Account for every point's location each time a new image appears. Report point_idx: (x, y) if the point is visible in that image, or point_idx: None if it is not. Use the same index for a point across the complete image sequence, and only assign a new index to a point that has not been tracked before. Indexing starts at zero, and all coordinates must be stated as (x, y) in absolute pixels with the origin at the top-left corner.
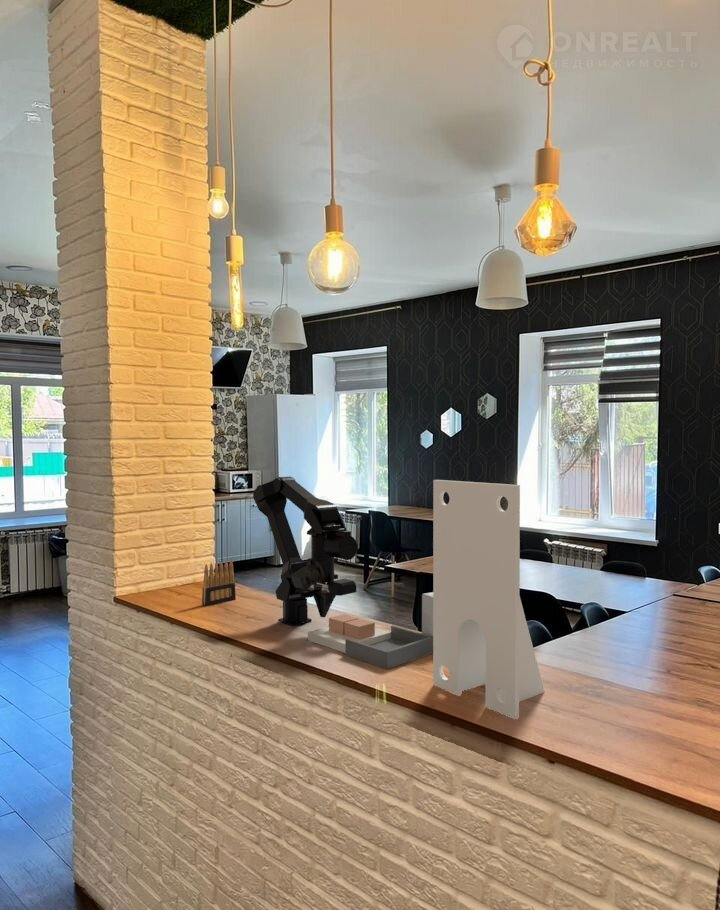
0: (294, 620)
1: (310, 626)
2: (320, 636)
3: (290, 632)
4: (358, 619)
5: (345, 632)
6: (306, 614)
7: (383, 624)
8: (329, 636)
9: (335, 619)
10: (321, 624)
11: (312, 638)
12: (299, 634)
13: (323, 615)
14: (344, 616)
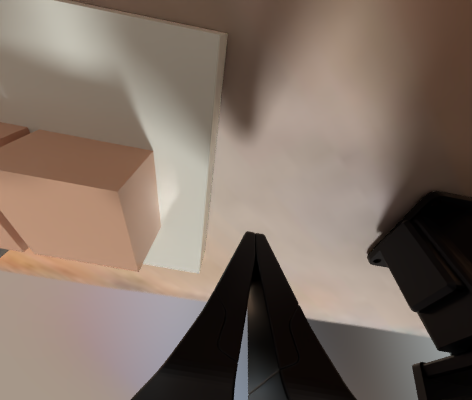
0: (440, 222)
1: (344, 219)
2: (73, 4)
3: (410, 105)
4: (5, 239)
5: (3, 131)
6: (393, 266)
7: (171, 294)
8: (34, 46)
9: (56, 185)
10: (315, 248)
11: (178, 24)
12: (339, 105)
13: (242, 241)
14: (97, 248)
